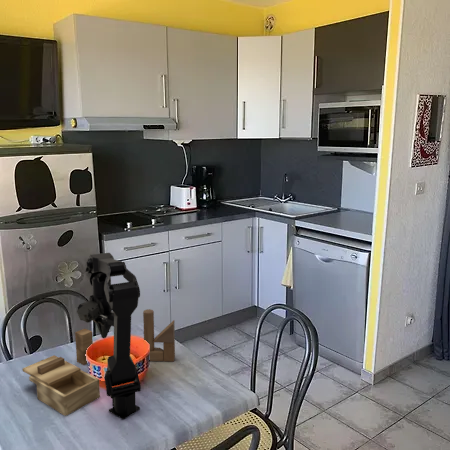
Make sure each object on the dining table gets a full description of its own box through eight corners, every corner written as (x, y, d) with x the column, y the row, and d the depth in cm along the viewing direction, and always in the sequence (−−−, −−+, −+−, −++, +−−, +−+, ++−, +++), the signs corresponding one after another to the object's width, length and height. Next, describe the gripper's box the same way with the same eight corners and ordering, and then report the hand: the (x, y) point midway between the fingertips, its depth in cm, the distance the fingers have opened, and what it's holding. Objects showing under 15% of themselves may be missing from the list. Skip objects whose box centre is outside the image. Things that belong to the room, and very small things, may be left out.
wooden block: (173, 362, 162) (173, 313, 158) (142, 361, 162) (141, 312, 159) (175, 356, 166) (174, 309, 162) (144, 356, 166) (143, 308, 162)
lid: (80, 370, 144) (80, 362, 143) (48, 386, 135) (48, 377, 134) (54, 357, 152) (53, 349, 151) (22, 370, 143) (21, 362, 143)
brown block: (93, 360, 162) (92, 331, 160) (83, 365, 159) (82, 335, 157) (86, 357, 165) (84, 328, 162) (76, 361, 161) (75, 332, 159)
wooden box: (100, 397, 140) (99, 379, 139) (65, 416, 131) (64, 397, 130) (50, 370, 155) (49, 353, 154) (16, 385, 146) (15, 368, 145)
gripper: (62, 292, 146) (65, 338, 149) (101, 306, 135) (103, 355, 139) (91, 283, 155) (93, 327, 158) (129, 295, 144) (131, 342, 148)
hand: (104, 337), depth 150 cm, fingers closed
